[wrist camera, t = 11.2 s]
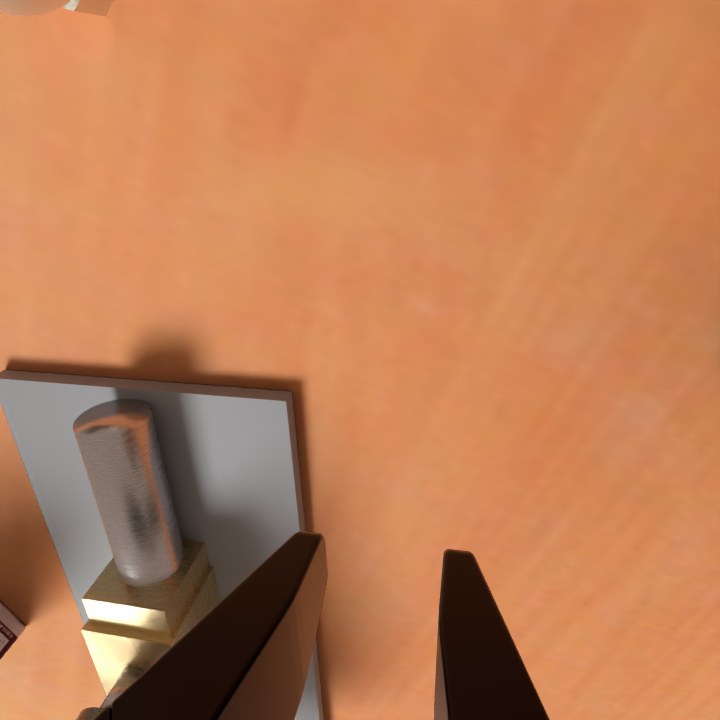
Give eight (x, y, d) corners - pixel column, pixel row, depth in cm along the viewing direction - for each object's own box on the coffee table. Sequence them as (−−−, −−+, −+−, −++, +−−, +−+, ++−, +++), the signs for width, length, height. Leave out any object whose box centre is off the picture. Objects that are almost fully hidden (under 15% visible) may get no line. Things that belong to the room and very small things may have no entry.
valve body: (87, 395, 24) (-30, 490, 19) (179, 402, 23) (85, 504, 18) (185, 728, 36) (130, 850, 30) (249, 741, 35) (205, 868, 29)
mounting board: (4, 369, 26) (-10, 377, 25) (292, 391, 23) (285, 401, 22) (127, 707, 37) (120, 719, 37) (326, 747, 35) (323, 761, 34)
